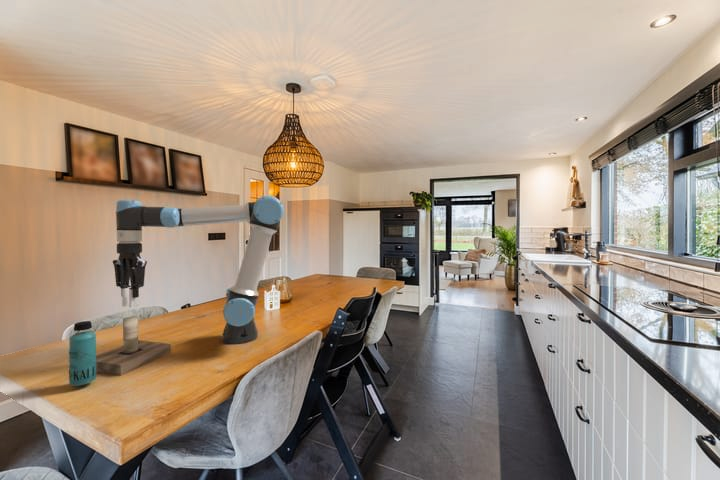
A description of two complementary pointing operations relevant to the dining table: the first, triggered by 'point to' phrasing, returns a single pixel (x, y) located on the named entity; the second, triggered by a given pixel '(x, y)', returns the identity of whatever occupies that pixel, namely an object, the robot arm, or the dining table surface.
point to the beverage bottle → (82, 355)
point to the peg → (130, 335)
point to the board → (130, 357)
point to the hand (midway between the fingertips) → (130, 305)
